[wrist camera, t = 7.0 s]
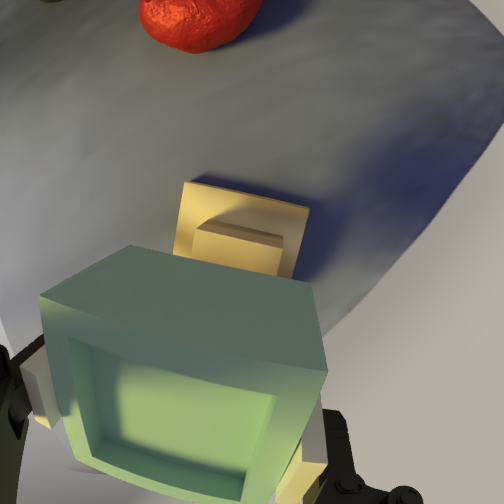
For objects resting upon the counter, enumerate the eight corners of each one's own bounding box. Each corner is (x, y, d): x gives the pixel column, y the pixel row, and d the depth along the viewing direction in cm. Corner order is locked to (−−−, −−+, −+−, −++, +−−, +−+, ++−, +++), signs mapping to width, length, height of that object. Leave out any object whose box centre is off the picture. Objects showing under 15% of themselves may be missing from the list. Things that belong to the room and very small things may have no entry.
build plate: (189, 181, 26) (167, 185, 20) (308, 207, 25) (314, 218, 20) (172, 289, 28) (150, 315, 23) (279, 315, 28) (277, 348, 23)
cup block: (129, 244, 13) (38, 295, 7) (310, 282, 13) (327, 371, 7) (128, 382, 15) (76, 459, 9) (270, 418, 15) (261, 515, 9)
